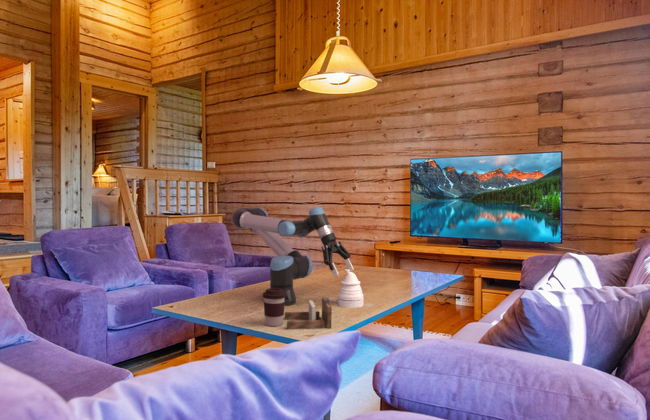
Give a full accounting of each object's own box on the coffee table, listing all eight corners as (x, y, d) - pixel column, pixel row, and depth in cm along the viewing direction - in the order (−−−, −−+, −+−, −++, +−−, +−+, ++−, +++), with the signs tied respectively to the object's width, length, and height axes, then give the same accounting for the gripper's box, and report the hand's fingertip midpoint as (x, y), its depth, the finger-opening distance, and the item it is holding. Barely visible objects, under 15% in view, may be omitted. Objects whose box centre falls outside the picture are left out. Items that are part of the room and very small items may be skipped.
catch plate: (311, 325, 194) (312, 306, 193) (308, 318, 206) (308, 300, 205) (315, 325, 194) (315, 306, 194) (312, 318, 206) (312, 300, 206)
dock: (287, 329, 190) (287, 304, 189) (284, 318, 206) (284, 295, 206) (332, 328, 192) (332, 303, 192) (326, 317, 209) (326, 295, 209)
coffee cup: (286, 321, 202) (286, 287, 202) (285, 327, 193) (285, 291, 192) (263, 321, 202) (263, 287, 202) (261, 327, 192) (261, 291, 192)
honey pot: (342, 308, 226) (342, 272, 226) (334, 302, 239) (335, 267, 238) (367, 307, 230) (367, 271, 229) (358, 301, 242) (358, 267, 242)
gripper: (317, 234, 224) (335, 274, 220) (345, 229, 244) (362, 266, 240) (306, 241, 229) (324, 280, 224) (335, 235, 249) (352, 271, 244)
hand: (344, 273), depth 232 cm, fingers open, 13 cm apart
